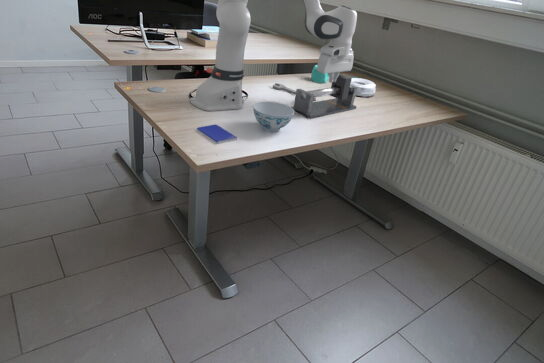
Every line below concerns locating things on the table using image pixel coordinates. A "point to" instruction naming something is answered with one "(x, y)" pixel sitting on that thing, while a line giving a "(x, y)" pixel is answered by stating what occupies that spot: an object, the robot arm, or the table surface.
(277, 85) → the adjustable wrench
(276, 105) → the chinaware
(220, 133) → the hard drive
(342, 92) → the dark grey upright block
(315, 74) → the decorative dice
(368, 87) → the cable
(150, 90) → the table surface
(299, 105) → the pipe stand
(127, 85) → the table surface
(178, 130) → the table surface
